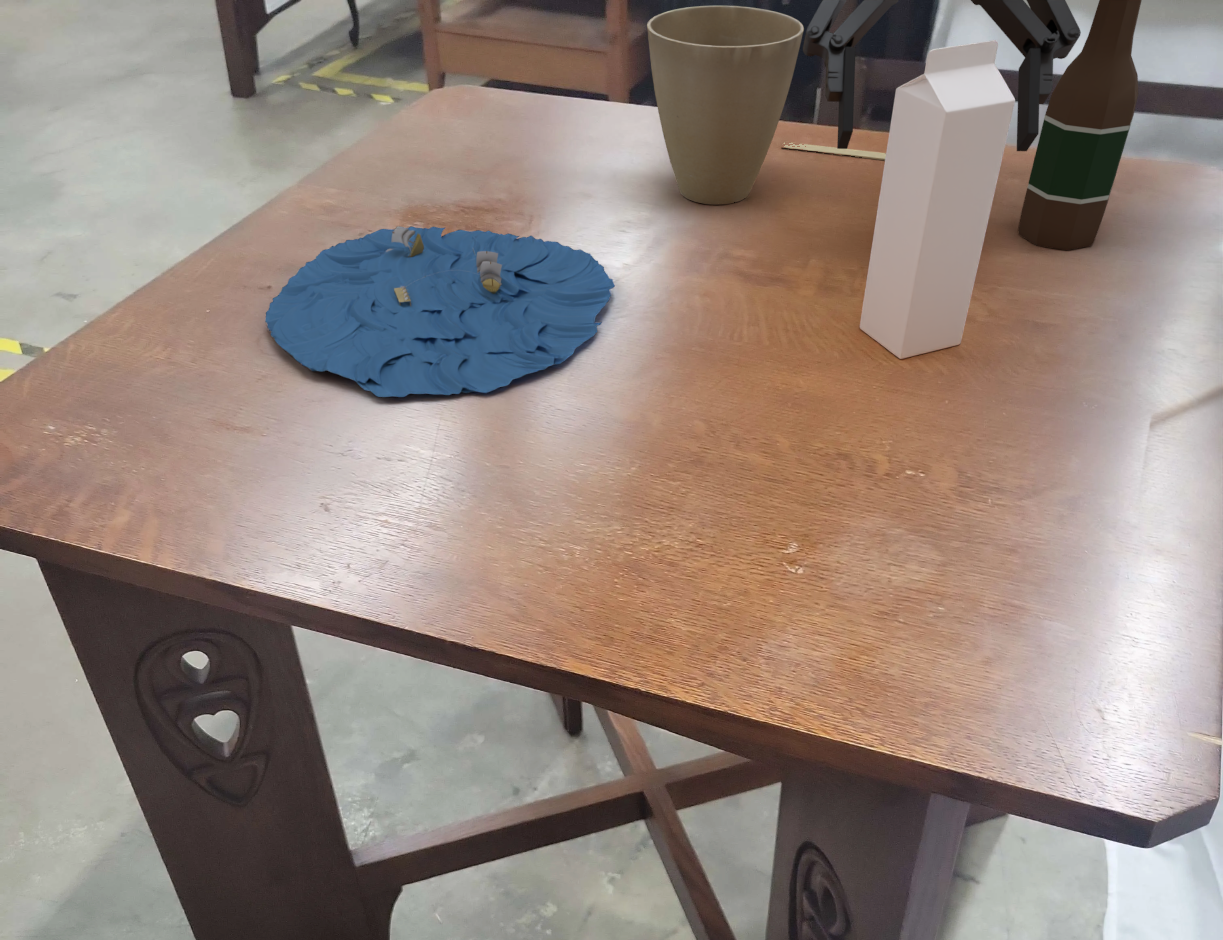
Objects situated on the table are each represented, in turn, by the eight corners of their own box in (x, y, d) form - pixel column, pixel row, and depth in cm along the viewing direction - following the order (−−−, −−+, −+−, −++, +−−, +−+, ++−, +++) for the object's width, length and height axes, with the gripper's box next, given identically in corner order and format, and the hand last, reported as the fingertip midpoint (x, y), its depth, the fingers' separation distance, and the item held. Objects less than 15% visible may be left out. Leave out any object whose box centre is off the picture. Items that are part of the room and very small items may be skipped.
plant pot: (684, 230, 105) (690, 53, 95) (622, 179, 115) (621, 15, 105) (814, 204, 110) (834, 33, 99) (744, 158, 120) (755, -2, 109)
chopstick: (999, 167, 117) (1000, 165, 117) (997, 173, 115) (998, 171, 115) (784, 143, 123) (785, 141, 123) (781, 148, 122) (781, 146, 122)
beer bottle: (998, 234, 104) (1066, -53, 87) (1043, 212, 107) (1115, -67, 91) (1071, 259, 99) (1156, -39, 83) (1114, 235, 103) (1204, -53, 87)
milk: (960, 345, 87) (1030, 50, 72) (899, 360, 86) (957, 61, 71) (916, 314, 91) (973, 29, 77) (856, 328, 90) (903, 39, 75)
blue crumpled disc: (686, 347, 90) (690, 289, 86) (349, 450, 78) (338, 388, 75) (521, 217, 108) (519, 165, 104) (227, 285, 96) (213, 229, 93)
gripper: (1091, -94, 85) (1085, 167, 84) (775, -94, 86) (765, 162, 85) (1131, -168, 77) (1125, 118, 76) (784, -166, 79) (774, 113, 78)
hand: (935, 142), depth 81 cm, fingers open, 13 cm apart
